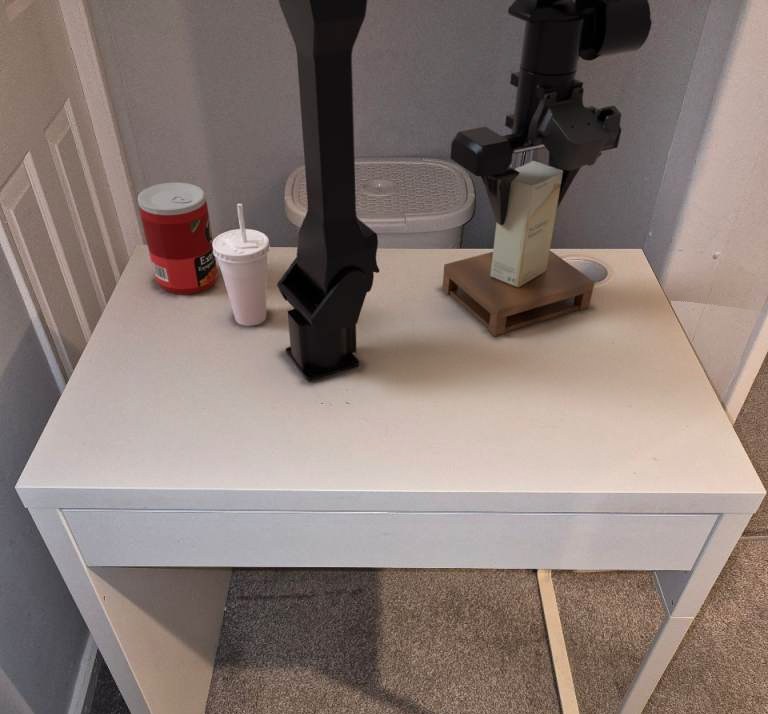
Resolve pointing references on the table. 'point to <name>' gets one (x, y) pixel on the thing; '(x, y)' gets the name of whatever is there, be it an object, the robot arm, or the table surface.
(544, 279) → the shelf
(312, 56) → the robot arm
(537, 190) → the cosmetic box
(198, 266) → the canned food
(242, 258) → the smoothie
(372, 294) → the table surface
